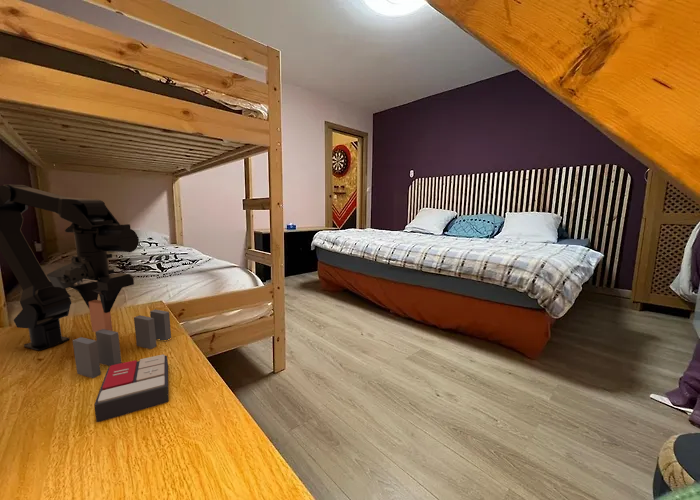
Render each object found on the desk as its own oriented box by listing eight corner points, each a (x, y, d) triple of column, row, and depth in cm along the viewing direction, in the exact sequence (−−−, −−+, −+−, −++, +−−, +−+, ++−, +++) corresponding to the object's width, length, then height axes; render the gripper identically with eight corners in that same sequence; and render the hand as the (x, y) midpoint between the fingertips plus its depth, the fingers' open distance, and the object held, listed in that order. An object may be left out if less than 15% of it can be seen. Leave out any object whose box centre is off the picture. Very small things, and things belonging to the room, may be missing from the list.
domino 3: (99, 363, 70) (95, 331, 69) (106, 359, 72) (103, 328, 70) (114, 367, 69) (110, 335, 67) (121, 363, 70) (118, 332, 69)
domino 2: (92, 331, 76) (88, 301, 75) (99, 328, 78) (95, 299, 76) (106, 334, 75) (102, 304, 73) (112, 331, 76) (109, 302, 75)
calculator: (166, 351, 70) (167, 382, 57) (168, 368, 70) (168, 403, 58) (107, 364, 64) (93, 401, 51) (109, 382, 65) (95, 424, 52)
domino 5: (152, 338, 83) (150, 311, 81) (157, 336, 84) (155, 309, 83) (166, 341, 81) (163, 314, 80) (171, 339, 83) (169, 311, 81)
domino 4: (136, 345, 78) (133, 317, 77) (142, 343, 80) (139, 315, 79) (150, 349, 77) (148, 320, 76) (156, 346, 79) (153, 318, 77)
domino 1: (77, 373, 66) (72, 340, 64) (85, 369, 67) (81, 337, 66) (92, 378, 64) (88, 344, 63) (100, 374, 66) (96, 340, 64)
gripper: (24, 253, 68) (35, 317, 70) (80, 260, 62) (89, 329, 65) (80, 246, 78) (88, 302, 81) (132, 251, 73) (138, 311, 75)
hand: (99, 311), depth 75 cm, fingers closed on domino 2, 5 cm apart
